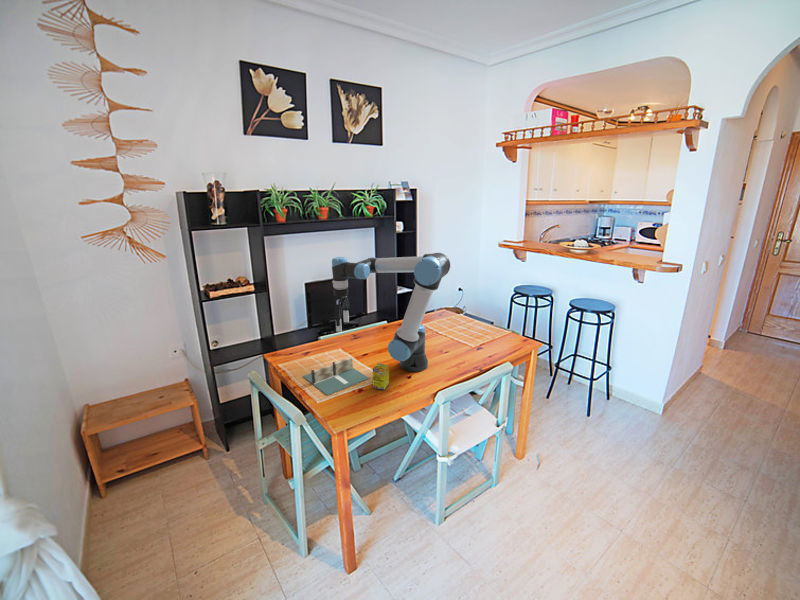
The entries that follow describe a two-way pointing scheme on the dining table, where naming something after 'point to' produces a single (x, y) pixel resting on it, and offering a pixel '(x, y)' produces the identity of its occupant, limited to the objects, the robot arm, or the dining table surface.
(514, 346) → the dining table surface
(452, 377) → the dining table surface
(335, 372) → the hinged gate
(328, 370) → the fixed rail
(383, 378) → the supplement box
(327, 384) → the board
